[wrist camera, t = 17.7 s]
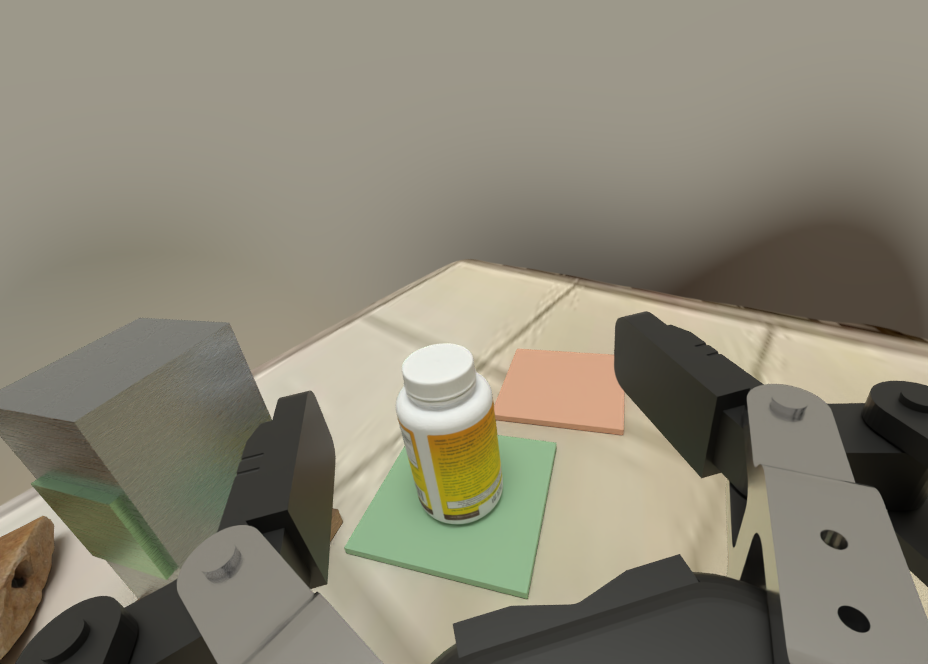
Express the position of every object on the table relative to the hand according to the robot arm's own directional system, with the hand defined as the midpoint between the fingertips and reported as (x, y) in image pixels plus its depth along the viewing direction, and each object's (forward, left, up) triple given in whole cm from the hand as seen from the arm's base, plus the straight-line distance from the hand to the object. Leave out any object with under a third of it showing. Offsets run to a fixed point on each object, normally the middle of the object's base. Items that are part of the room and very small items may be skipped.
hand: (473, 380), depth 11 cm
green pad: (-5, -10, -17) cm, 20 cm away
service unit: (+7, -15, -17) cm, 24 cm away
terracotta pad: (-19, -12, -17) cm, 28 cm away
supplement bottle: (-5, -9, -16) cm, 20 cm away
